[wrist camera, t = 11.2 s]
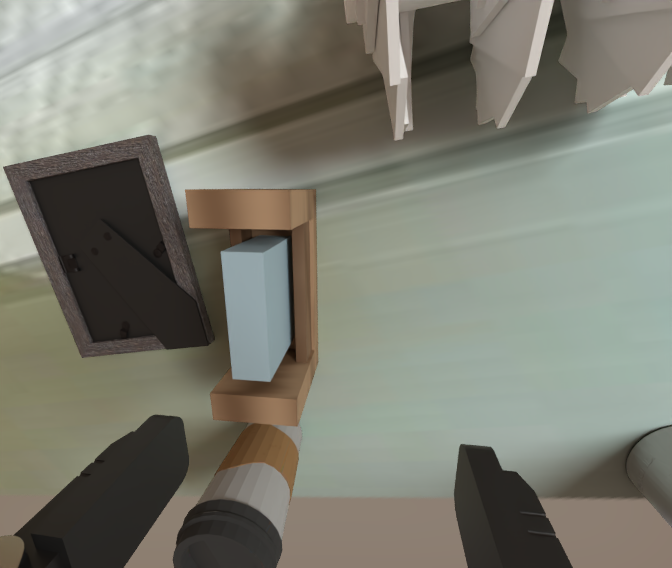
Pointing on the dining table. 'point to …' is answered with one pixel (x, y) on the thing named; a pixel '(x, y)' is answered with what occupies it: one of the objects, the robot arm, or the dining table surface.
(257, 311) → the door panel
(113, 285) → the picture frame
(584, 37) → the spiral staircase
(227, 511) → the coffee cup
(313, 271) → the track
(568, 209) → the dining table surface
